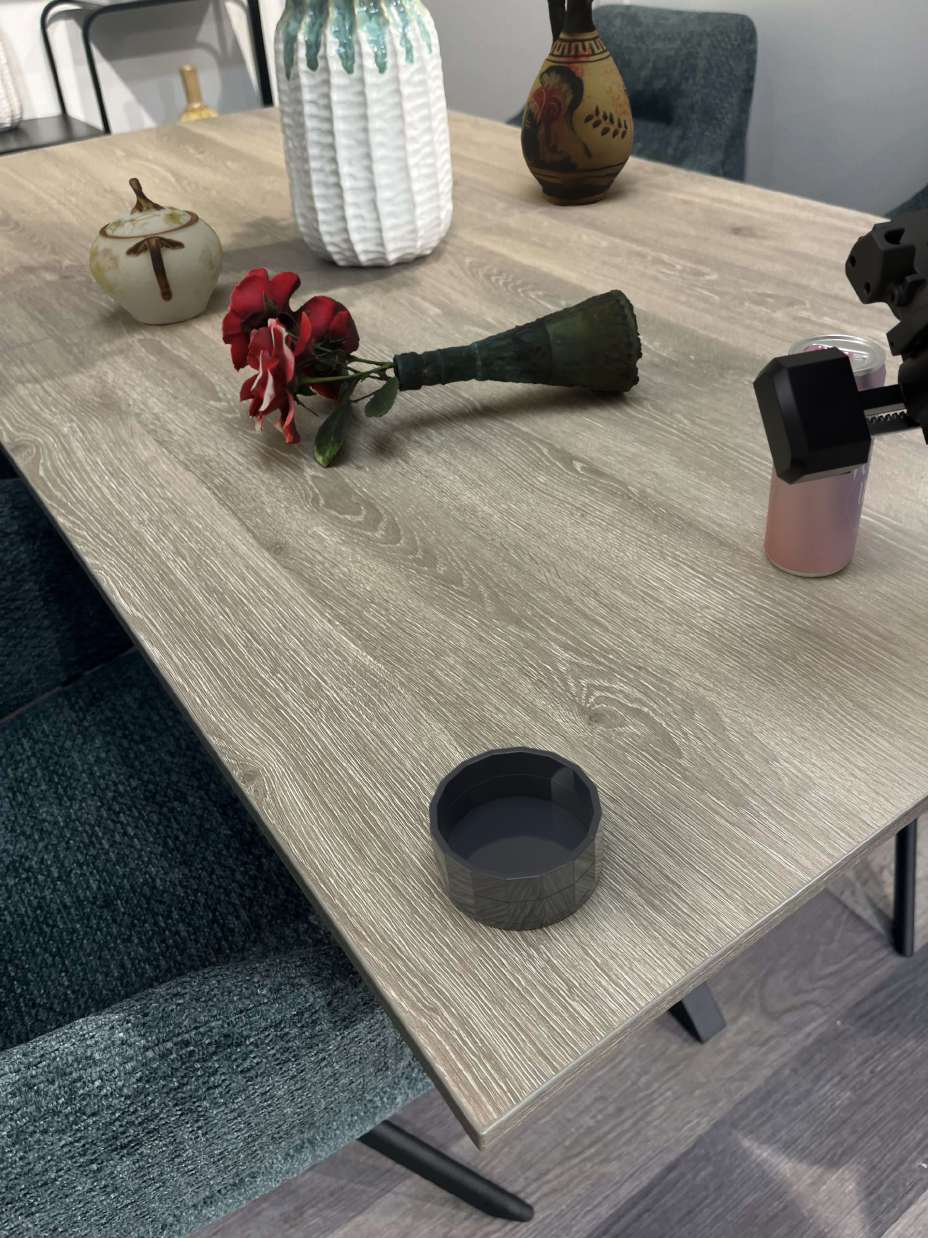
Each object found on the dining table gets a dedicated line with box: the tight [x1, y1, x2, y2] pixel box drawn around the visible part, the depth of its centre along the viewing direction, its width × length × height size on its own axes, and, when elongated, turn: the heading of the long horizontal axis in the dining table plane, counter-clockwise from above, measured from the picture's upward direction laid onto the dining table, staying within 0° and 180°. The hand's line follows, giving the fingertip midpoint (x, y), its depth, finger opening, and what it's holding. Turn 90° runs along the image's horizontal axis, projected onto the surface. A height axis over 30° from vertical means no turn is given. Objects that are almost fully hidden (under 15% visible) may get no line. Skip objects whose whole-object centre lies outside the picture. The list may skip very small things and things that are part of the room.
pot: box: [428, 745, 604, 931], centre depth 51 cm, size 8×8×4 cm
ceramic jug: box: [520, 0, 635, 206], centre depth 134 cm, size 17×15×30 cm
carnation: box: [221, 267, 644, 468], centre depth 90 cm, size 16×18×35 cm
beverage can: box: [763, 333, 887, 578], centre depth 66 cm, size 6×6×15 cm
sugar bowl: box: [88, 177, 224, 325], centre depth 115 cm, size 20×15×15 cm
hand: (864, 441), depth 60 cm, fingers open, 9 cm apart
